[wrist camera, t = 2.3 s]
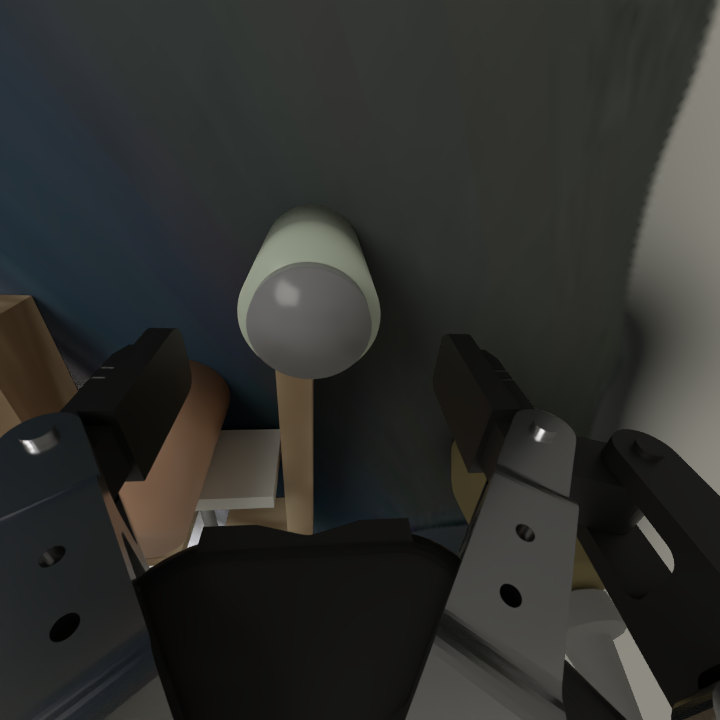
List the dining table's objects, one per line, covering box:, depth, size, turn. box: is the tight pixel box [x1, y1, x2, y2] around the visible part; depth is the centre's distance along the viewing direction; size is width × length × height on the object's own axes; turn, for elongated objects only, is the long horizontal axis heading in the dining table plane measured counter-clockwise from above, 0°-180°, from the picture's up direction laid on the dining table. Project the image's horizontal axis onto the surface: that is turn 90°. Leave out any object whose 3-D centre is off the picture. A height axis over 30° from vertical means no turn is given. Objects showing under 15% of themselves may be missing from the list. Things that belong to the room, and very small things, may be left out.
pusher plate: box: [195, 429, 281, 527], centre depth 28 cm, size 13×13×6 cm
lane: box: [0, 295, 313, 566], centre depth 24 cm, size 18×21×5 cm
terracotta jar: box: [119, 360, 231, 559], centre depth 21 cm, size 6×6×10 cm
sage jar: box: [237, 205, 381, 379], centre depth 16 cm, size 6×6×9 cm
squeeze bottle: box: [451, 440, 643, 720], centre depth 23 cm, size 8×8×18 cm
